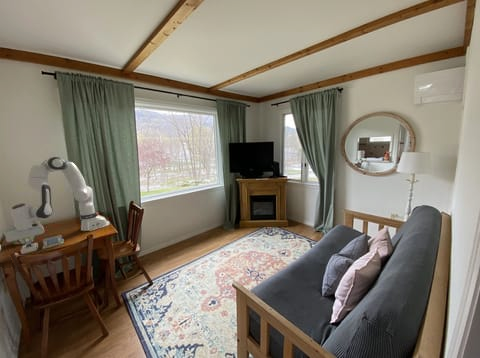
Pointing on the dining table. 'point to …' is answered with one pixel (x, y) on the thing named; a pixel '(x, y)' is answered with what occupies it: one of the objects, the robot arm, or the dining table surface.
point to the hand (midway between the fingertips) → (28, 242)
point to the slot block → (29, 248)
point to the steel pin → (27, 241)
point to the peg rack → (53, 244)
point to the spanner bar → (52, 240)
